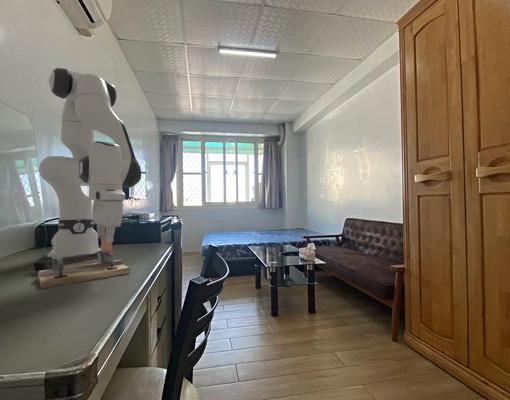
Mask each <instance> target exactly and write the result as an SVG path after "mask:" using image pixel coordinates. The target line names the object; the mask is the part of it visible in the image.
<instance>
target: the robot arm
mask: <svg viewBox="0 0 510 400" xmlns="http://www.w3.org/2000/svg"><path fill="white" fill-rule="evenodd" d="M48 84H49V87H50V90H51V93H53V95H54V96H56V97H57V98H61V99H62V100H63V99H65V102H64V105H63V109H62V115H61V128H60V129H61V130H60V131H61V132H60V141H61V142H62V144H63V145H64V146H65V147H66V148H67V149H68V150H69V152H70V153H71V155H72V157H71V156H70V157H68V156H64V155H53V156H51V155H50V156H46V157H44V158H43V159H42V160H41V162H40V163H39V165H38V170H39V171H38V172H39V174H40V176H41V178H42V180H44V181H45V182H47V184H49V185H50V186H51V187H52V189H53V190H54V192H55V194H56V197H57V199H58V207H59V209H58V210H59V220H58V221H57V222H58V223H57V229H58V231H57V232H56V233H55V234H54V235H53V237H52V239H51V242H50V243H51V245H52V250H50V252H48V254H47V256H46V257H47V258H53V257H62V256H63V257H64V258H65V257H70V256H76V255H83V254H97V253H101V252H100V251H101V247H99V239H100V240H101V238H105V241H106V242H112V243H113V242H114V235H115V232H116V228H119V227H121V226H122V222H123V210H124V202H123V201H125V200H126V194H125V192H124V191H123V188H130V189H131V188H133V187H135V186H136V185H137V184H139V182H140V181H141V179H142V169H141V166H140V164H139V162H138V160H137V158H136V155H135V151H134V149H133V146H132V143H131V140H130V137H129V134H128V131H127V128H126V126H125V124H124V121H122V120H121V119H120V118H119V117H118V116H117V114H116V113H115V112H114V111H113V108H112V107H114V106H115V103H116V101H117V96H118V95H117V89H116V87H115V85H114V84H112V83H110V81H106V80H103V78H101V77H99V76H98V75H96V74H93V73H81V72H77V71H74V70H69V69H67V68H63V67H62V68H61V67H55V69H52V72H51V73H50V75H49V79H48ZM95 132H98V133H100V134H103V135H105V136H107V137H108V138H110V139H111V140H112V141H113V142H107V141H101V140H96V141H95ZM81 186H82V187H88V195H86V194H85V193H84V192H83V190H82V187H81ZM92 201H93V202H92ZM94 224H95V225H96V230H97V231H96V230H95V229H94Z"/></svg>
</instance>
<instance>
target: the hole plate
mask: <svg viewBox="0 0 510 400" xmlns="http://www.w3.org/2000/svg"><path fill="white" fill-rule="evenodd" d="M64 258H65V257H63V256H62V257H51V260H52V269H48V270H41V271H39V272H37V273H38V274H37V276H38V277H37V278H38V279H37V280H38V282H39V284H40V287H41V289H46V288H51V287H57V286H62V285H63V286H64V285H69V284H74V283H80V282H86V281H92V280H97V279H103V278H108V277H109V278H110V277H116V276H122V275H127V274H131V267H129V266H127V265H125V264H123V260H122V259H116V260H115V259H114V267H111V262H106V263H103V262H101V261H100V262H96V263H92V264H85V265H77V266H70V267H64Z"/></svg>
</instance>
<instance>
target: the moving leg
mask: <svg viewBox="0 0 510 400" xmlns="http://www.w3.org/2000/svg"><path fill="white" fill-rule="evenodd" d="M100 243H101V244H100V246H101V247H100V248H101V252H100V262H103V263H106V262H111V267H114V260H115V259H114V257H115V254H114V253H113V242H106V241H105V238H101V239H100Z"/></svg>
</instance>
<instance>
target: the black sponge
mask: <svg viewBox="0 0 510 400" xmlns="http://www.w3.org/2000/svg"><path fill="white" fill-rule="evenodd" d="M98 261H99V256H98V253H93V254H83V255H76V256H70V257H64V267H70V266H77V265H85V264H92V263H98ZM32 264H33V266H34V271H35V272H37V273H39V271H41V270H48V269H52V259H47V260H42V261H36V262H35V261H34V262H32Z"/></svg>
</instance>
